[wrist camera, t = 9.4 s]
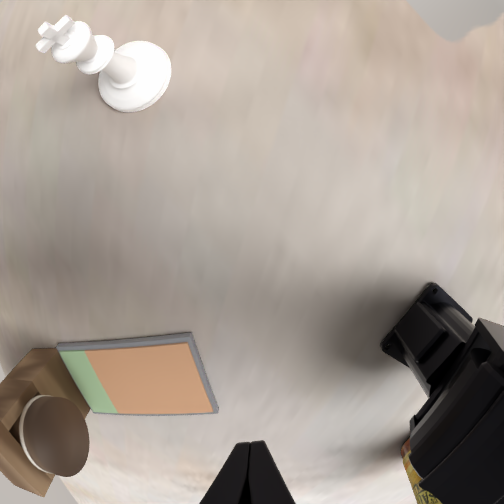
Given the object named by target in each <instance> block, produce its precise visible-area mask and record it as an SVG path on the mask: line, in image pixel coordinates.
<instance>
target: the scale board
mask: <svg viewBox="0 0 504 504" xmlns="http://www.w3.org/2000/svg"><path fill="white" fill-rule="evenodd" d="M56 348H57V350H58V352H59V354H60V356H61V358H62V360H63V362H64V364H65V366H66V367H67V369H68V371H69V373H70V375H71V376H72V378H73V380H74V382H75V384H76V385H77V387H78V389H79V390H80V392H81V394H82V395H83V397H84V399H85V400H86V402H87V403H88V405H89V407H90V408H91V410H92V411H93V413H97V414H113V415H145V416H165V415H197V414H214V413H218V411H219V407H218V405H217V402H216V400H215V397H214V394H213V392H212V389H211V386H210V384H209V381H208V378H207V375H206V373H205V370H204V367H203V364H202V361H201V358H200V356H199V353H198V350H197V347H196V344H195V341H194V338H193V335H192V332H190V333H181V334H173V335H164V336H154V337H144V338H133V339H121V340H108V341H94V342H77V343H59V344H58V345H57V346H56Z"/></svg>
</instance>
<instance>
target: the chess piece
mask: <svg viewBox="0 0 504 504" xmlns="http://www.w3.org/2000/svg"><path fill="white" fill-rule="evenodd" d="M38 32H39V33H40V35H41V36H43V38H42V39H41V40H40V41H39V42H38V43H37V44H36V47H37V49H38V51H40V52H43V53H46V52H47V51H48V49H49V48H50V47H51V46H52V48H51V52H52V56H53V58H54V59H55V60H56V61H57V62H59V63H72V62H76V65H77V67H78V68H79V70H80V71H81V72H82V73H84V74H95V73H98V72H99V71H100V73H99V78H98V87H99V92H100V94H101V96H102V98H103V100H104V101H105V102H106V103H107V104H108V105H109V106H111V107H112V108H114V109H116V110H118V111H121V112H137V111H141V110H143V109H146V108H147V107H149V106H151V105H152V104H154V103H155V102H156V101H157V100H158V99H159V98H160V97H161V96H162V95H163V93H164V92H165V90H166V88H167V86H168V84H169V81H170V78H171V63H170V60H169V57H168V55H167V54H166V52H165V51H164V50H163V49H162V48H160V47H159V46H157V45H155V44H153V43H151V42H147V41H133V42H129V43H126V44H124V45H122V46H120V47H118V48H117V49H116V50H114V43H113V41H112V39H111V38H109V37H108V36H105V35H95V36H93V34H92V31H91V29H90V27H89V26H88V25H87V24H86V23H85V22H82V21H75V22H74V21H73V20H72V18H71V17H69V16H67V15H65V16H64V17H63V18H62V19H61V20H60V21H59V22H58V23H56V24H55V25H54V26H53V25H51V24H49V23H47V22H44V24H43V25H42V26H41V27H40V28H39V29H38Z"/></svg>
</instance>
